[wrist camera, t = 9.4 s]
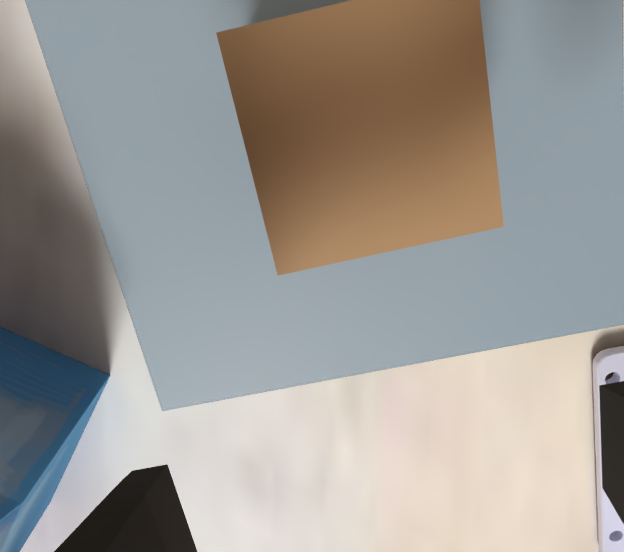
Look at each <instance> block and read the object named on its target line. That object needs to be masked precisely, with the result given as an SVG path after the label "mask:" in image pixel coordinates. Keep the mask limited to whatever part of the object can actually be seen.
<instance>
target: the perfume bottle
mask: <svg viewBox="0 0 624 552" xmlns="http://www.w3.org/2000/svg"><path fill="white" fill-rule="evenodd" d="M109 377H110V375H108V374H106V373H104V372H102V371H99V370H97V369H95V368H92V367H90V366H88V365H86V364H83V363H81V362H79V361H76V360H74V359H72V358H70V357H67V356H65V355H63V354H61V353H58V352H56V351H54V350H51V349H49V348H47V347H45V346H42V345H40V344H38V343H35V342H33V341H31V340H29V339H26V338H24V337H22V336H20V335H17V334H15V333H13V332H10V331H8V330H6V329H4V328H1V327H0V552H20V550H21V548H22V547H23V545H24V544H25V542H26V540H27V539H28V537H29V536H30V534H31V532H32V531H33V529H34V527H35V526H36V524H37V523H38V521H39V519H40V518H41V516H42V515H43V513H44V511H45V510H46V508H47V506H48V505H49V503H50V501H51V499H52V497H53V495H54V493H55V491H56V489H57V486H58V484H59V482H60V480H61V478H62V476H63V474H64V472H65V470H66V467H67V465H68V463H69V461H70V459H71V457H72V455H73V453H74V451H75V448H76V446H77V444H78V442H79V440H80V438H81V436H82V434H83V432H84V429H85V427H86V425H87V423H88V421H89V419H90V417H91V415H92V413H93V410H94V408H95V406H96V404H97V402H98V400H99V398H100V396H101V394H102V391H103V389H104V387H105V385H106V383H107V381H108V379H109Z"/></svg>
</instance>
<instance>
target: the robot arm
mask: <svg viewBox="0 0 624 552" xmlns="http://www.w3.org/2000/svg"><path fill="white" fill-rule="evenodd" d="M592 366H593V395H594V424H595V452H596V481H597V510H598V539H599V552H624V346H619V347H614V348H608V349H605V350H602V351H600V352H599V353H598V354H596V356H595V357H594V359H593V364H592ZM612 372H614V374H613V376H612V377H611V378H610V379H608V380H605V378H606V376H607V375H608V374H609V373H612ZM614 531H615V532H614ZM612 532H613V533H612ZM54 552H197V550H196V547H195V544H194V541H193V538H192V535H191V532H190V529H189V526H188V524H187V521H186V518H185V515H184V512H183V509H182V506H181V503H180V500H179V497H178V494H177V491H176V489H175V486H174V483H173V480H172V477H171V474H170V471H169V468H168V465H162V466H156V467H151V468H145V469H140V470H135V471H132V472H131V473H130V474H128V475H127V476H126V477H125V478H124V479H123V480H122V481H121V482H120V483H119V484H118V485H117V486H116V487H115V488H114V489H113V490H112V491H111V492H110V493H109V494H108V495H107V496H106V498H105V499H104V500H103V501H102V502H101V503H100V504H99V505H98V506H97V507H96V508H95V509H94V510H93V511H92V512H91V513H90V514H89V516H88V517H87V518H86V519H85V520H84V521H83V522H82V523H81V524H80V525H79V526H78V527H77V528H76V529H75V530H74V531H73V533H72V534H71V535H70V536H69V537H68V538H67V539H66V540H65V541H64V542H63V543H62V544H61V545H60V546H59V547H58V548H57V549H56V550H55V551H54Z"/></svg>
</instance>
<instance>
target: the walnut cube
mask: <svg viewBox="0 0 624 552" xmlns="http://www.w3.org/2000/svg"><path fill="white" fill-rule="evenodd" d="M216 34H217V38H218V42H219V46H220V50H221V54H222V58H223V62H224V66H225V70H226V74H227V78H228V82H229V86H230V90H231V94H232V98H233V101H234V105H235V109H236V113H237V117H238V121H239V125H240V129H241V133H242V137H243V141H244V145H245V149H246V153H247V157H248V161H249V165H250V168H251V172H252V176H253V180H254V184H255V188H256V192H257V196H258V200H259V204H260V208H261V212H262V216H263V220H264V224H265V228H266V232H267V235H268V239H269V243H270V247H271V251H272V255H273V259H274V263H275V267H276V271H277V275H278V276H279V275H283V274H288V273H293V272H297V271H302V270H306V269H311V268H316V267H320V266H325V265H330V264H334V263H339V262H343V261H348V260H353V259H357V258H362V257H367V256H371V255H376V254H380V253H385V252H390V251H394V250H399V249H404V248H408V247H413V246H417V245H422V244H427V243H431V242H436V241H441V240H445V239H450V238H455V237H459V236H464V235H468V234H473V233H478V232H482V231H487V230H492V229H496V228H501V227H504V224H503V215H502V205H501V196H500V187H499V177H498V168H497V159H496V149H495V140H494V131H493V121H492V112H491V103H490V93H489V84H488V75H487V65H486V56H485V47H484V37H483V28H482V19H481V9H480V0H350V1H346V2H342V3H338V4H333V5H329V6H325V7H321V8H317V9H313V10H308V11H304V12H300V13H296V14H292V15H288V16H283V17H279V18H275V19H271V20H267V21H263V22H258V23H254V24H250V25H246V26H242V27H238V28H233V29H229V30H225V31H221V32H217V33H216Z"/></svg>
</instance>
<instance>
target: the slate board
mask: <svg viewBox="0 0 624 552" xmlns="http://www.w3.org/2000/svg"><path fill="white" fill-rule="evenodd" d="M346 1H350V0H25V2H26V5H27V8H28V11H29V14H30V17H31V20H32V23H33V26H34V29H35V32H36V35H37V38H38V41H39V44H40V47H41V50H42V53H43V56H44V59H45V62H46V65H47V68H48V71H49V74H50V77H51V80H52V83H53V86H54V89H55V92H56V95H57V98H58V101H59V104H60V107H61V110H62V113H63V116H64V119H65V122H66V125H67V128H68V131H69V134H70V137H71V140H72V143H73V146H74V149H75V152H76V155H77V158H78V161H79V164H80V167H81V170H82V173H83V176H84V179H85V182H86V185H87V188H88V191H89V193H90V196H91V199H92V202H93V205H94V208H95V211H96V214H97V217H98V220H99V223H100V226H101V229H102V232H103V235H104V238H105V241H106V244H107V247H108V250H109V253H110V256H111V259H112V262H113V265H114V268H115V271H116V274H117V277H118V280H119V283H120V286H121V289H122V292H123V295H124V298H125V301H126V304H127V307H128V310H129V313H130V316H131V319H132V322H133V325H134V328H135V331H136V334H137V337H138V340H139V343H140V346H141V349H142V352H143V355H144V358H145V361H146V364H147V367H148V370H149V373H150V376H151V379H152V382H153V385H154V388H155V391H156V394H157V397H158V400H159V403H160V406H161V409H162V411H166V410H171V409H177V408H182V407H187V406H193V405H198V404H203V403H209V402H214V401H219V400H225V399H230V398H235V397H241V396H246V395H251V394H257V393H262V392H267V391H273V390H278V389H283V388H289V387H294V386H299V385H305V384H310V383H315V382H321V381H326V380H331V379H337V378H342V377H347V376H353V375H358V374H363V373H369V372H374V371H379V370H385V369H390V368H395V367H401V366H406V365H411V364H417V363H422V362H427V361H433V360H438V359H443V358H449V357H454V356H459V355H465V354H470V353H475V352H481V351H486V350H491V349H497V348H502V347H507V346H513V345H518V344H523V343H529V342H534V341H539V340H545V339H550V338H555V337H561V336H566V335H571V334H577V333H582V332H587V331H593V330H598V329H603V328H609V327H614V326H619V325H624V59H623V0H480V9H481V19H482V28H483V37H484V47H485V56H486V65H487V75H488V84H489V93H490V103H491V112H492V121H493V131H494V140H495V149H496V159H497V168H498V177H499V187H500V196H501V205H502V215H503V224H504V227H501V228H496V229H492V230H487V231H482V232H478V233H473V234H468V235H464V236H459V237H455V238H450V239H445V240H441V241H436V242H431V243H427V244H422V245H417V246H413V247H408V248H404V249H399V250H394V251H390V252H385V253H380V254H376V255H371V256H367V257H362V258H357V259H353V260H348V261H343V262H339V263H334V264H330V265H325V266H320V267H316V268H311V269H306V270H302V271H297V272H293V273H288V274H283V275H279V276H278V275H277V271H276V267H275V263H274V259H273V255H272V251H271V247H270V243H269V239H268V235H267V232H266V228H265V224H264V220H263V216H262V212H261V208H260V204H259V200H258V196H257V192H256V188H255V184H254V180H253V176H252V172H251V168H250V165H249V161H248V157H247V153H246V149H245V145H244V141H243V137H242V133H241V129H240V125H239V121H238V117H237V113H236V109H235V105H234V101H233V98H232V94H231V90H230V86H229V82H228V78H227V74H226V70H225V66H224V62H223V58H222V54H221V50H220V46H219V42H218V38H217V34H216V33H217V32H221V31H225V30H229V29H233V28H238V27H242V26H246V25H250V24H254V23H258V22H263V21H267V20H271V19H275V18H279V17H283V16H288V15H292V14H296V13H300V12H304V11H308V10H313V9H317V8H321V7H325V6H329V5H333V4H338V3H342V2H346Z"/></svg>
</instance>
